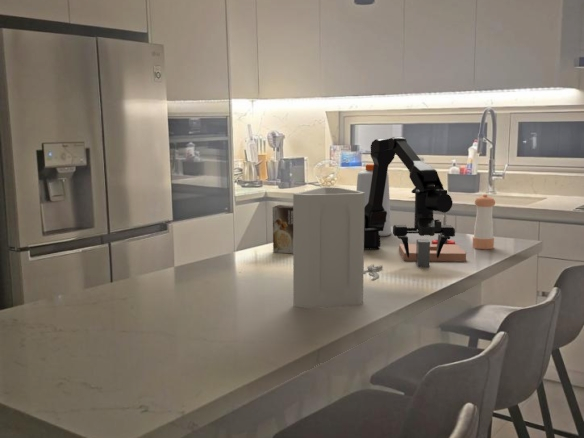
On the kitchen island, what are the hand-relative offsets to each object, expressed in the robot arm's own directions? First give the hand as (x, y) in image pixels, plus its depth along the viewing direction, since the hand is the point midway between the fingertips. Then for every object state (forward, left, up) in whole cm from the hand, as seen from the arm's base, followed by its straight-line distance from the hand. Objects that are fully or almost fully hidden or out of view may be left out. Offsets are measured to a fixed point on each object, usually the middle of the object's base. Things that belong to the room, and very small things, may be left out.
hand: (422, 257), depth 210 cm
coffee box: (-44, +20, -3) cm, 48 cm away
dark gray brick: (0, 0, -3) cm, 3 cm away
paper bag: (-28, -42, -3) cm, 51 cm away
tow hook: (+13, +38, -3) cm, 40 cm away
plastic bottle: (-12, +59, -3) cm, 60 cm away
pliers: (-18, -12, -3) cm, 22 cm away
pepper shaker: (+26, +31, -3) cm, 40 cm away
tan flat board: (+5, +15, -2) cm, 16 cm away
